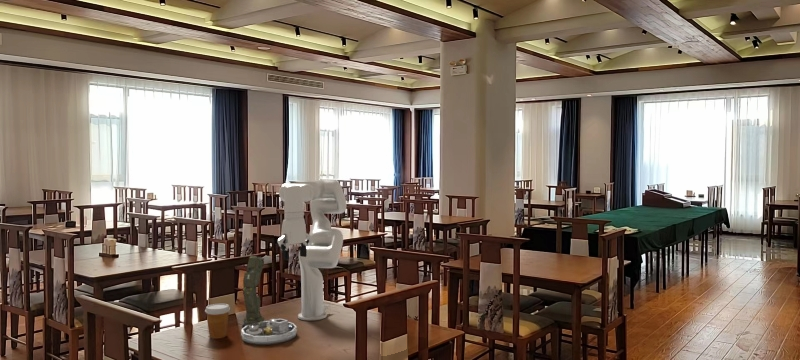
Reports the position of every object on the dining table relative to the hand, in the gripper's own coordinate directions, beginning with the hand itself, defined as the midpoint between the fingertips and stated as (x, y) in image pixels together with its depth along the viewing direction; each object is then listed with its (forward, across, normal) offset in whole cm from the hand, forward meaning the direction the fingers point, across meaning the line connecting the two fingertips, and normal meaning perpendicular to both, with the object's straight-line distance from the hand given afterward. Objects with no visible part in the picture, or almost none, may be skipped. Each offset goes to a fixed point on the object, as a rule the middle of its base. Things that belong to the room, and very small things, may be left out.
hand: (294, 258), depth 236 cm
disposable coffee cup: (+31, +21, -22) cm, 43 cm away
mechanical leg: (+31, +2, -23) cm, 38 cm away
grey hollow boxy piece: (+29, +9, +1) cm, 31 cm away
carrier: (+30, +10, -5) cm, 32 cm away
